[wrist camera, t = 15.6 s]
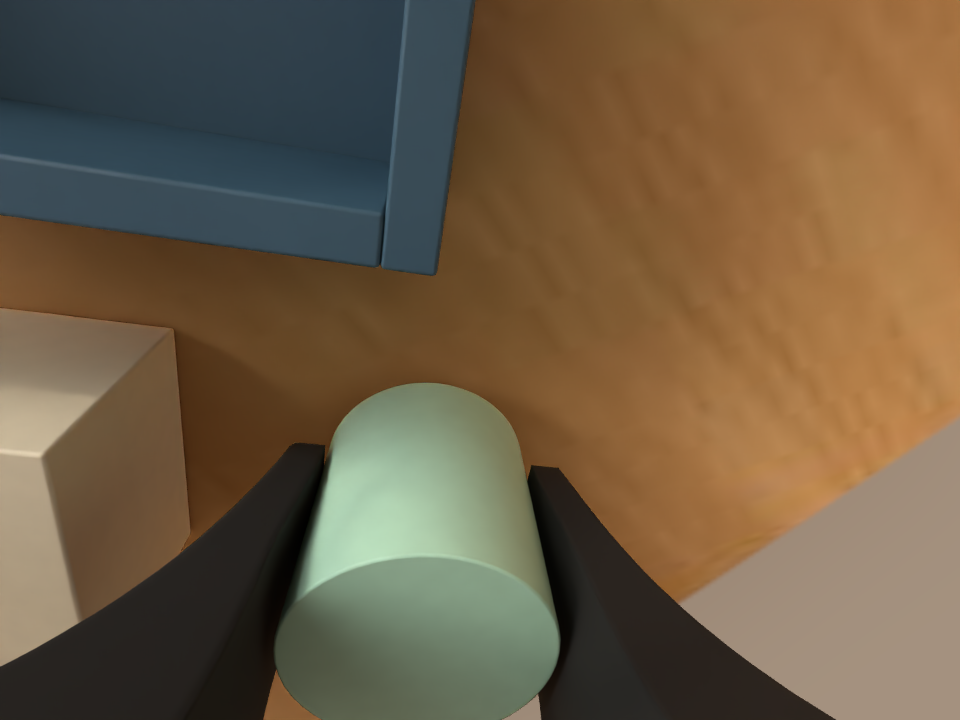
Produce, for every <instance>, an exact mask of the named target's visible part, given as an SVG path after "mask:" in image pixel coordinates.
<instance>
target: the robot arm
mask: <svg viewBox="0 0 960 720" xmlns="http://www.w3.org/2000/svg"><path fill="white" fill-rule="evenodd" d="M324 458H325V445H318V444H307V443H297V442H295V443H294V444H292V445H291V446H289V448H288V449H287V450H286V451H285V453H284V454H283V455H282V456H281V457H280V458H279V460H278V461H277V462H276V463H275V464H274V465H273V466H272V468H271V469H270V470H269V471H268V472H267V473H266V474H265V475H264V476H263V477H262V478H261V480H260V481H259V482H258V483H257V484H256V485H255V486H254V487H253V488H252V489H251V490H250V491H249V492H248V493H247V494H246V495H245V496H244V497H243V498H242V499H241V500H240V501H239V502H238V503H237V504H236V505H235V506H234V507H233V508H232V509H231V510H230V511H229V512H227V513H226V514H225V515H224V516H223V517H222V518H221V519H220V520H219V521H217V522H216V523H215V524H214V525H213V526H212V527H211V528H210V529H209V530H207V531H206V532H205V533H204V534H203V535H202V536H201V537H199V538H198V539H197V540H196V541H195V542H194V543H192V544H191V545H190V546H189V547H187V548H186V549H185V550H184V551H183V552H181V553H180V554H179V555H177V556H176V557H175V558H174V559H172V560H171V561H170V562H168V563H167V564H166V565H164V566H163V567H162V568H160V569H159V570H158V571H156V572H155V573H154V574H152V575H151V576H150V577H148V578H147V579H145V580H144V581H142V582H141V583H140V584H138V585H137V586H135V587H134V588H132V589H131V590H129V591H128V592H127V593H125V594H124V595H122V596H121V597H119V598H118V599H116V600H115V601H113V602H112V603H110V604H109V605H107V606H106V607H104V608H103V609H101V610H99V611H98V612H96V613H95V614H93V615H91V616H90V617H88V618H86V619H85V620H83V621H81V622H80V623H78V624H76V625H74V626H73V627H71V628H69V629H68V630H66V631H64V632H63V633H61V634H59V635H58V636H56V637H54V638H53V639H51V640H49V641H47V642H45V643H44V644H42V645H40V646H38V647H37V648H35V649H33V650H31V651H29V652H27V653H25V654H24V655H22V656H20V657H18V658H16V659H14V660H12V661H10V662H8V663H6V664H4V665H2V666H0V720H263V718H264V713H265V709H266V705H267V701H268V697H269V693H270V689H271V686H272V682H273V679H274V675H275V672H276V666H275V662H274V651H273V647H274V638H275V634H276V630H277V627H278V623H279V620H280V616H281V613H282V609H283V606H284V603H285V599H286V596H287V592H288V589H289V585H290V582H291V578H292V575H293V571H294V568H295V564H296V561H297V558H298V554H299V551H300V547H301V544H302V540H303V537H304V533H305V530H306V526H307V523H308V519H309V516H310V513H311V509H312V506H313V503H314V499H315V496H316V492H317V489H318V485H319V482H320V479H321V475H322V472H323V468H324ZM527 482H528V487H529V491H530V496H531V500H532V505H533V510H534V514H535V519H536V523H537V528H538V533H539V537H540V542H541V547H542V551H543V556H544V560H545V565H546V570H547V574H548V579H549V583H550V588H551V593H552V597H553V602H554V606H555V611H556V616H557V620H558V625H559V631H560V638H561V642H560V653H559V657H558V661H557V665H556V667H555V669H554V671H553V673H552V676H551V677H550V679H549V680H548V682H547V683H546V685H545V686H544V687H543V689H542V690H541V691H540V692H539V693H538V695H539V702H540V711H541V720H836V719H834V718H832V717H831V716H829V715H828V714H826V713H824V712H823V711H821V710H819V709H818V708H816V707H815V706H813V705H812V704H810V703H808V702H807V701H805V700H804V699H802V698H800V697H799V696H797V695H795V694H794V693H792V692H791V691H789V690H788V689H787V688H785V687H784V686H782V685H781V684H779V683H778V682H776V681H775V680H774V679H772V678H771V677H769V676H768V675H767V674H765V673H764V672H762V671H761V670H759V669H758V668H757V667H755V666H754V665H752V664H751V663H749V662H748V661H747V660H746V659H744V658H743V657H742V656H740V655H739V654H738V653H736V652H735V651H734V650H732V649H731V648H730V647H728V646H727V645H726V644H725V643H723V642H722V641H721V640H720V639H719V638H717V637H716V636H715V635H714V634H712V633H711V632H710V631H709V630H707V629H706V628H705V627H704V626H703V625H701V624H700V623H699V622H697V620H695V619H694V618H693V617H692V616H691V615H690V614H688V613H687V612H686V611H685V610H684V609H683V608H682V607H681V606H680V605H678V604H677V603H676V602H675V601H674V600H673V599H672V598H671V597H670V596H669V595H668V594H667V593H666V592H665V591H664V590H662V589H661V588H660V587H659V586H658V585H657V584H656V583H655V582H654V581H653V580H652V579H651V578H650V577H649V576H648V575H647V574H646V573H645V572H644V571H643V570H642V569H641V567H640V566H639V565H638V564H637V563H636V562H635V561H634V560H633V559H632V558H631V557H630V556H629V555H628V553H627V552H626V551H625V550H624V549H623V548H622V547H621V546H620V544H619V543H618V542H617V541H616V540H615V539H614V538H613V536H612V535H611V534H610V533H609V532H608V530H607V529H606V528H605V527H604V526H603V524H602V523H601V522H600V521H599V520H598V518H597V517H596V516H595V515H594V513H593V512H592V511H591V510H590V508H589V507H588V506H587V504H586V503H585V502H584V501H583V499H582V498H581V497H580V495H579V494H578V493H577V491H576V490H575V489H574V487H573V486H572V485H571V484H570V482H569V481H568V480H567V478H566V477H565V476H564V474H563V473H562V472H561V471H560V469H559V468H554V467H544V466H534V465H531V469H530V473H529V476H528V480H527Z"/></svg>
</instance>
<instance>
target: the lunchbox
mask: <svg viewBox="0 0 960 720" xmlns="http://www.w3.org/2000/svg"><path fill="white" fill-rule="evenodd" d="M475 2H476V0H0V215H3V216H11V217H18V218H25V219H32V220H39V221H46V222H53V223H60V224H67V225H75V226H82V227H89V228H96V229H103V230H110V231H117V232H124V233H131V234H139V235H146V236H153V237H160V238H167V239H174V240H181V241H188V242H195V243H203V244H210V245H217V246H224V247H231V248H238V249H245V250H252V251H259V252H267V253H274V254H281V255H288V256H295V257H302V258H309V259H316V260H323V261H331V262H338V263H345V264H352V265H359V266H366V267H373V268H376V267H379V265H380V264H381V267H382V268H383V269H386V270H393V271H400V272H407V273H415V274H422V275H429V276H434V275H436V273H437V270H438V263H439V256H440V249H441V242H442V235H443V228H444V221H445V213H446V206H447V199H448V192H449V185H450V178H451V171H452V164H453V157H454V150H455V143H456V136H457V129H458V122H459V115H460V108H461V100H462V93H463V86H464V79H465V72H466V65H467V58H468V51H469V44H470V37H471V30H472V23H473V16H474V9H475Z"/></svg>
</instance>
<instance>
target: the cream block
mask: <svg viewBox="0 0 960 720" xmlns="http://www.w3.org/2000/svg"><path fill="white" fill-rule="evenodd" d="M190 533H191V531H190V519H189V507H188V495H187V483H186V471H185V459H184V447H183V435H182V423H181V411H180V398H179V386H178V374H177V362H176V350H175V338H174V330H173V329H171V328H164V327H156V326H147V325H139V324H131V323H122V322H114V321H106V320H97V319H89V318H81V317H72V316H64V315H56V314H47V313H39V312H31V311H22V310H14V309H6V308H0V666H2V665H4V664H6V663H8V662H10V661H12V660H14V659H16V658H18V657H20V656H22V655H24V654H25V653H27V652H29V651H31V650H33V649H35V648H37V647H38V646H40V645H42V644H44V643H45V642H47V641H49V640H51V639H53V638H54V637H56V636H58V635H59V634H61V633H63V632H64V631H66V630H68V629H69V628H71V627H73V626H74V625H76V624H78V623H80V622H81V621H83V620H85V619H86V618H88V617H90V616H91V615H93V614H95V613H96V612H98V611H99V610H101V609H103V608H104V607H106V606H107V605H109V604H110V603H112V602H113V601H115V600H116V599H118V598H119V597H121V596H122V595H124V594H125V593H127V592H128V591H129V590H131V589H132V588H134V587H135V586H137V585H138V584H140V583H141V582H142V581H144V580H145V579H147V578H148V577H150V576H151V575H152V574H154V573H155V572H156V571H158V570H159V569H160V568H162V567H163V566H164V565H166V564H167V563H168V562H170V561H171V560H172V559H174V558H175V557H176V556H177V555H179V553H180V551H181V550H182V548H183V546H184V544H185V542H186V540H187V538H188V537H189V535H190Z"/></svg>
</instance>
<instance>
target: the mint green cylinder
mask: <svg viewBox="0 0 960 720" xmlns="http://www.w3.org/2000/svg"><path fill="white" fill-rule="evenodd" d="M560 642H561V638H560V631H559V625H558V620H557V616H556V611H555V606H554V602H553V597H552V593H551V588H550V583H549V579H548V574H547V570H546V565H545V560H544V556H543V551H542V547H541V542H540V537H539V533H538V528H537V523H536V519H535V514H534V510H533V505H532V500H531V496H530V491H529V487H528V482H527V477H526V473H525V468H524V464H523V459H522V454H521V450H520V445H519V442H518V439H517V436H516V434H515V432H514V430H513V428H512V426H511V425H510V423H509V422H508V420H507V419H506V418H505V416H504V415H503V414H502V413H501V412H500V411H499V410H498V409H497V408H496V407H494V406H493V405H492V404H491V403H489V402H488V401H487V400H485V399H483V398H481V397H480V396H478V395H476V394H474V393H472V392H470V391H467V390H465V389H462V388H458V387H455V386H451V385H445V384H440V383H411V384H405V385H399V386H396V387H392V388H389V389H386V390H383V391H381V392H379V393H376V394H374V395H372V396H371V397H369V398H367V399H365V400H364V401H362V402H361V403H360V404H358V405H357V406H356V407H354V408H353V409H352V410H351V411H350V412H349V413H348V414H347V415H346V416H345V417H344V419H343V420H342V421H341V423H340V424H339V426H338V427H337V429H336V431H335V433H334V435H333V437H332V441H331V444H330V447H329V450H328V454H327V457H326V461H325V464H324V468H323V472H322V475H321V479H320V482H319V485H318V489H317V492H316V496H315V499H314V503H313V506H312V509H311V513H310V516H309V519H308V523H307V526H306V530H305V533H304V537H303V540H302V544H301V547H300V551H299V554H298V558H297V561H296V564H295V568H294V571H293V575H292V578H291V582H290V585H289V589H288V592H287V596H286V599H285V603H284V606H283V609H282V613H281V616H280V620H279V623H278V627H277V630H276V634H275V638H274V647H273V651H274V662H275V666H276V669H277V672H278V675H279V677H280V679H281V681H282V683H283V685H284V687H285V688H286V689H287V691H288V692H289V693H290V695H291V696H292V697H293V698H294V699H295V700H296V701H297V702H298V703H299V704H300V705H301V706H302V707H304V708H305V709H306V710H308V711H309V712H310V713H312V714H313V715H315V716H317V717H318V718H320V719H322V720H502V719H504V718H506V717H508V716H510V715H512V714H513V713H515V712H516V711H518V710H519V709H521V708H522V707H523V706H525V705H526V704H527V703H528V702H530V701H531V700H532V699H533V698H534V697H535V696H536V695H537V694H538V693H539V692H540V691H541V690H542V689H543V687H544V686H545V685H546V683H547V682H548V680H549V679H550V677H551V676H552V673H553V671H554V669H555V667H556V665H557V661H558V657H559V653H560Z"/></svg>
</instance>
